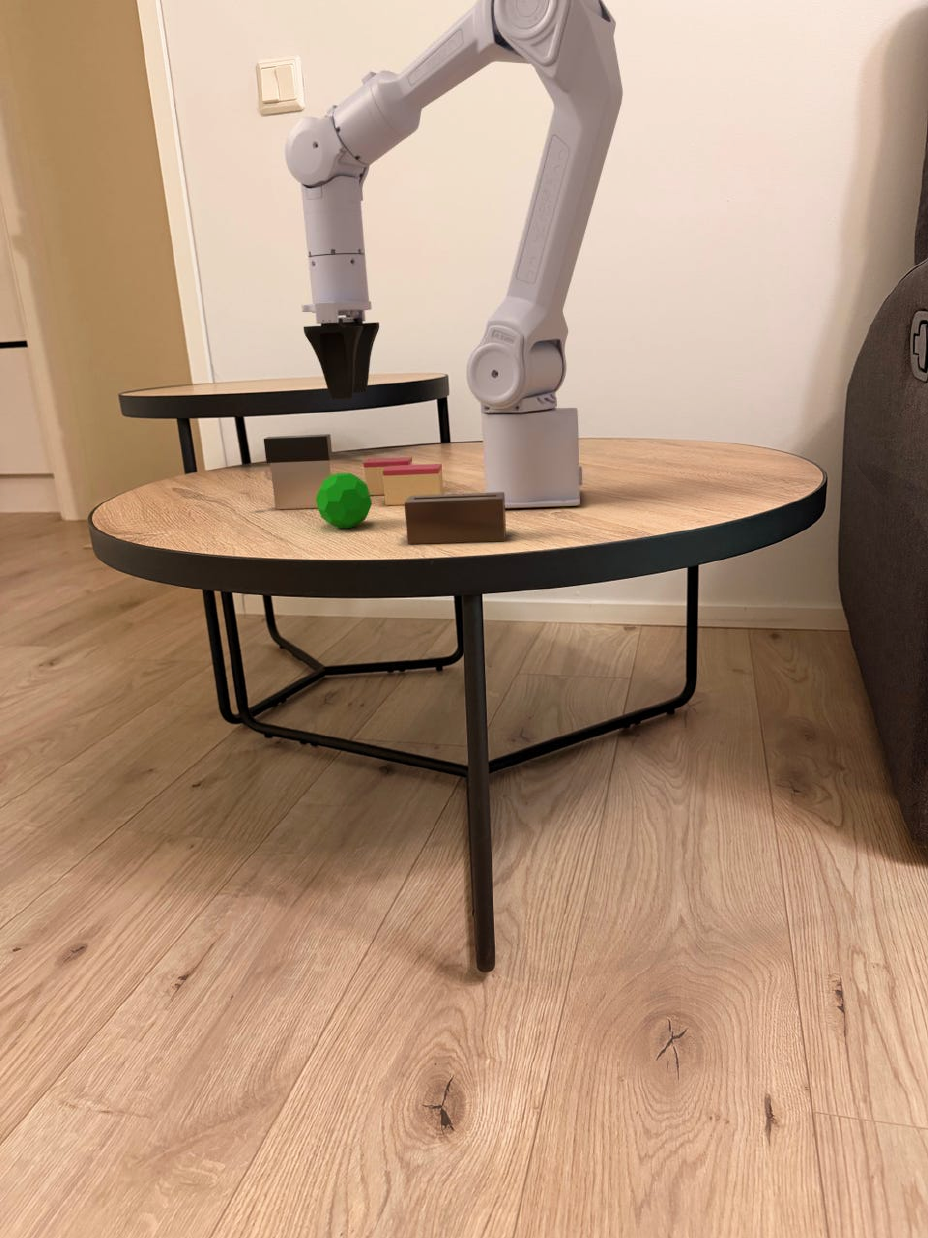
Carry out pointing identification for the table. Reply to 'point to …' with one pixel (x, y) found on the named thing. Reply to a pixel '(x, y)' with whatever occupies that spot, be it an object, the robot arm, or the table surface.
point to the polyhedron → (343, 500)
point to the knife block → (455, 518)
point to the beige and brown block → (298, 468)
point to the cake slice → (380, 472)
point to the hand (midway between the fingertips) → (349, 395)
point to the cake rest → (411, 482)
